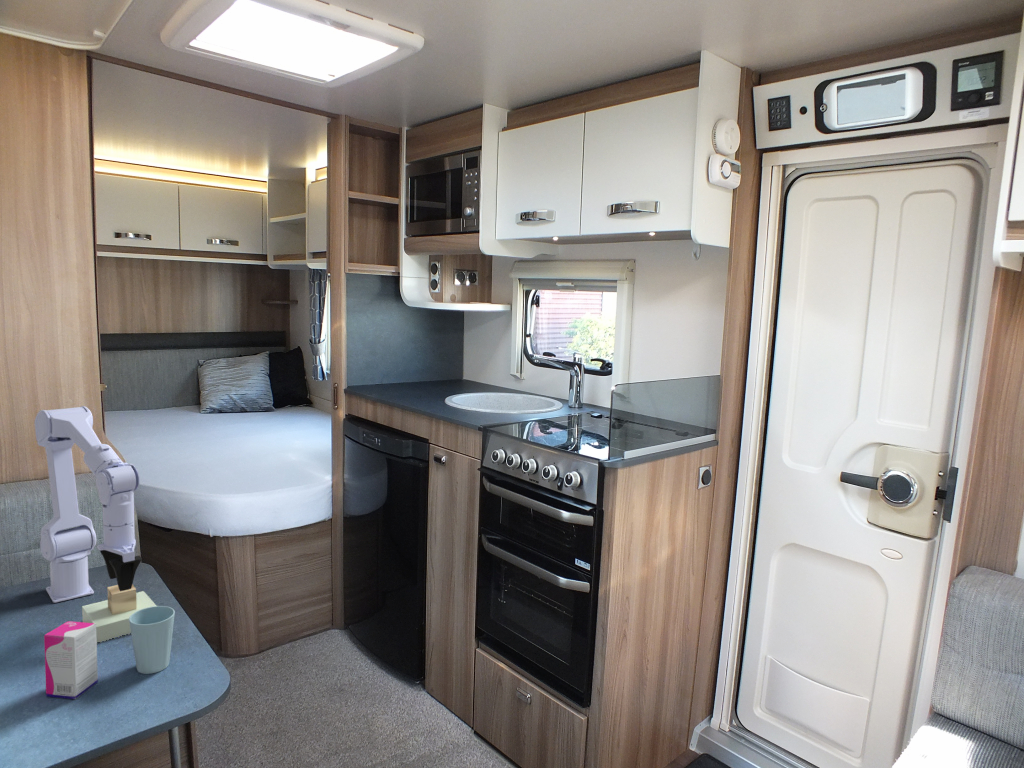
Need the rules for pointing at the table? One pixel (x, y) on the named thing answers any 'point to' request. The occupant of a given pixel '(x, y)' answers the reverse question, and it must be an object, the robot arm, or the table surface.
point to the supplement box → (70, 659)
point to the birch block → (121, 599)
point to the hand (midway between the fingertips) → (120, 583)
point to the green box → (112, 617)
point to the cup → (152, 637)
